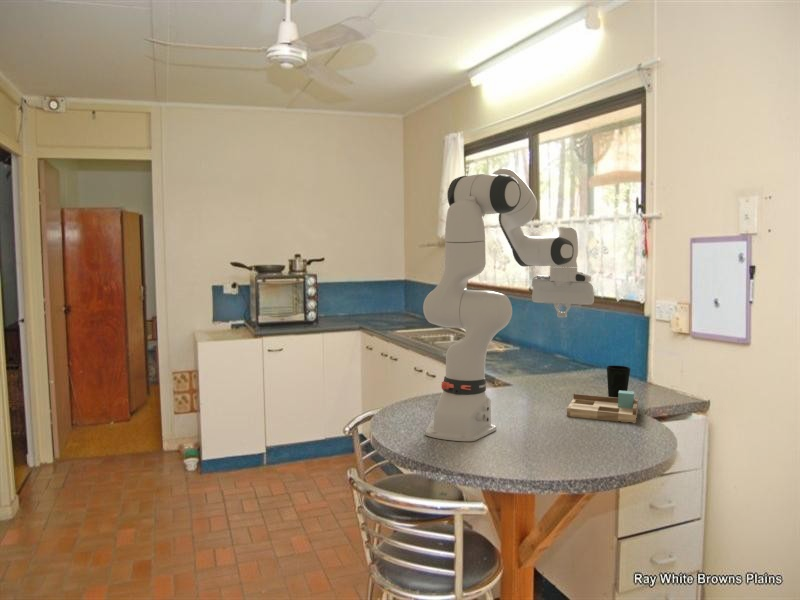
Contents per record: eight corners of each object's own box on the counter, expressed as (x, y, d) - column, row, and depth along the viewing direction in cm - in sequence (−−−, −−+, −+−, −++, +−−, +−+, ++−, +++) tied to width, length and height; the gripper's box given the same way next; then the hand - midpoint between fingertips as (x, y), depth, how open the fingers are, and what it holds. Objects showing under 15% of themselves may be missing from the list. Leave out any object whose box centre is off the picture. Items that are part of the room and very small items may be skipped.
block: (633, 408, 194) (633, 394, 194) (617, 407, 196) (618, 392, 195) (633, 405, 198) (634, 391, 198) (618, 404, 200) (619, 390, 200)
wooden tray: (635, 423, 186) (636, 408, 185) (566, 415, 193) (567, 401, 193) (637, 411, 200) (638, 398, 200) (573, 405, 208) (573, 392, 208)
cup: (625, 399, 218) (627, 365, 218) (631, 404, 211) (633, 369, 210) (603, 399, 219) (604, 365, 219) (608, 403, 212) (609, 368, 211)
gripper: (530, 275, 210) (529, 316, 211) (593, 276, 203) (592, 319, 203) (534, 275, 216) (532, 314, 217) (595, 276, 208) (594, 318, 209)
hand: (561, 317), depth 210 cm, fingers closed
